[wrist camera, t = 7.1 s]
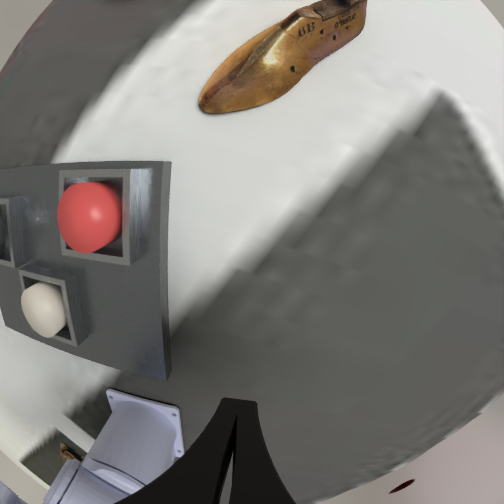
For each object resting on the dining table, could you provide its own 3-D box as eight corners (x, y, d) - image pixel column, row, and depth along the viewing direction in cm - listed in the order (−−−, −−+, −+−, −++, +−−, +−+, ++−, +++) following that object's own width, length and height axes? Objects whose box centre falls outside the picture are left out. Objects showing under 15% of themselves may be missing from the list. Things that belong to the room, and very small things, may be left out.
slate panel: (171, 370, 23) (160, 392, 20) (13, 320, 24) (-3, 331, 21) (171, 161, 18) (153, 160, 15) (-6, 170, 19) (-26, 173, 16)
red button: (128, 246, 18) (110, 257, 16) (79, 240, 18) (59, 249, 16) (129, 181, 17) (109, 183, 15) (78, 180, 17) (56, 183, 15)
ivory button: (77, 329, 21) (61, 343, 18) (43, 317, 21) (27, 330, 18) (69, 282, 19) (50, 294, 17) (35, 274, 20) (16, 284, 17)
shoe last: (189, 89, 17) (164, 69, 12) (345, 1, 14) (359, -32, 9) (225, 135, 18) (208, 126, 13) (382, 42, 15) (407, 15, 10)
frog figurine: (44, 427, 31) (34, 440, 27) (102, 455, 30) (93, 472, 27) (64, 460, 34) (56, 472, 30) (116, 484, 34) (110, 499, 30)
